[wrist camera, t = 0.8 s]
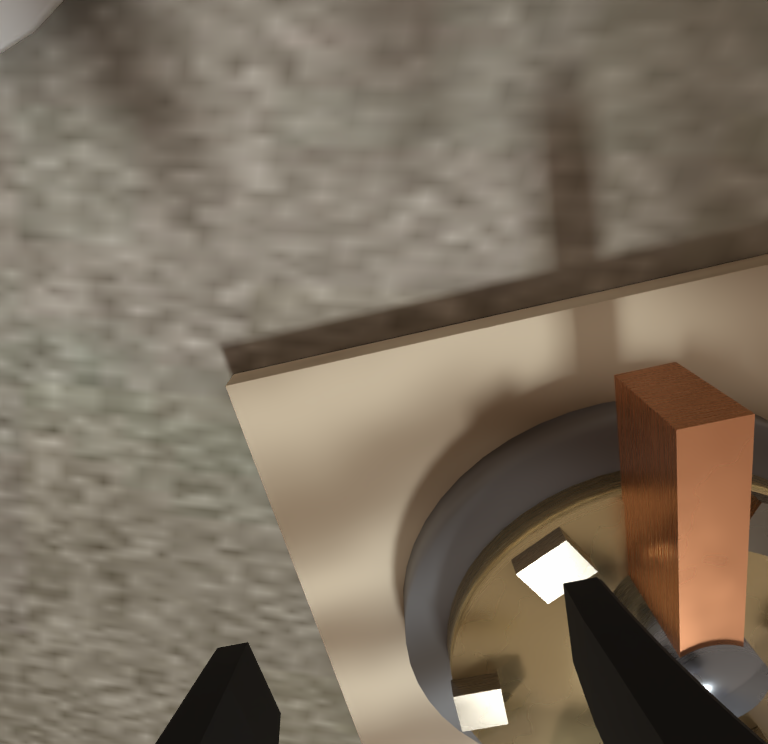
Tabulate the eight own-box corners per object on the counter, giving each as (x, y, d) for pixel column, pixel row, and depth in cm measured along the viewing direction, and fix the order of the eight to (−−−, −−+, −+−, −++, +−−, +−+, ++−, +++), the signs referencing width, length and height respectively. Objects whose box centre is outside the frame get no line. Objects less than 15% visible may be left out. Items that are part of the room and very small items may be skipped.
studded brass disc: (819, 720, 21) (931, 860, 17) (479, 775, 22) (503, 920, 18) (878, 296, 14) (1088, 351, 10) (383, 403, 15) (386, 494, 11)
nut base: (872, 713, 25) (923, 770, 22) (388, 792, 26) (390, 852, 24) (970, 208, 16) (1072, 215, 14) (233, 374, 18) (211, 406, 15)
